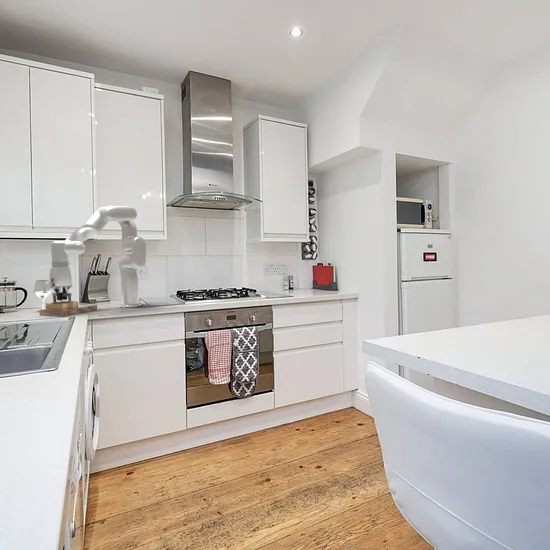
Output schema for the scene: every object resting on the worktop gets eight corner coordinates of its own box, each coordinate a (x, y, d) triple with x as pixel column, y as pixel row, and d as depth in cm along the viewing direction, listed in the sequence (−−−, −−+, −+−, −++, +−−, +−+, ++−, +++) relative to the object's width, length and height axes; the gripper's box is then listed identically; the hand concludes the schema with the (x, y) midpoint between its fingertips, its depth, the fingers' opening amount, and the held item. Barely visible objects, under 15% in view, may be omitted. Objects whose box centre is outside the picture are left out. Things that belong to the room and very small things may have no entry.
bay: (75, 310, 213) (75, 303, 213) (97, 312, 208) (97, 304, 207) (39, 317, 192) (39, 309, 192) (63, 319, 187) (63, 311, 187)
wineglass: (35, 314, 202) (33, 281, 200) (34, 312, 208) (32, 280, 207) (53, 312, 206) (51, 280, 205) (51, 311, 213) (49, 279, 212)
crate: (63, 311, 202) (62, 291, 202) (78, 312, 199) (77, 292, 198) (46, 314, 193) (45, 293, 192) (62, 315, 189) (61, 294, 189)
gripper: (67, 264, 203) (69, 297, 204) (40, 265, 188) (42, 301, 189) (78, 264, 200) (80, 298, 202) (52, 265, 185) (54, 302, 187)
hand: (62, 299), depth 195 cm, fingers closed
